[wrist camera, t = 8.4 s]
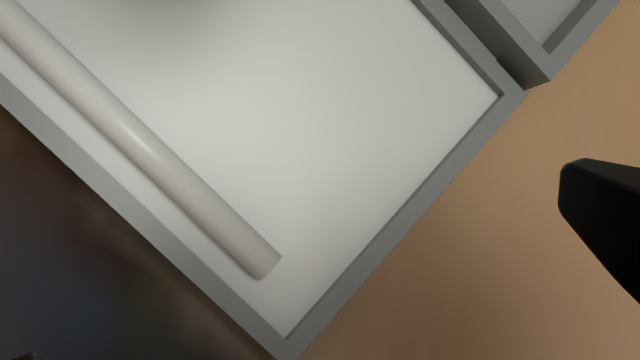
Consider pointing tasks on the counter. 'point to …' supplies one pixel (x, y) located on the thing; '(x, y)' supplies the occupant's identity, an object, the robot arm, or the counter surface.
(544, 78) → the case
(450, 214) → the counter surface
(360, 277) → the lid
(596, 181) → the robot arm
